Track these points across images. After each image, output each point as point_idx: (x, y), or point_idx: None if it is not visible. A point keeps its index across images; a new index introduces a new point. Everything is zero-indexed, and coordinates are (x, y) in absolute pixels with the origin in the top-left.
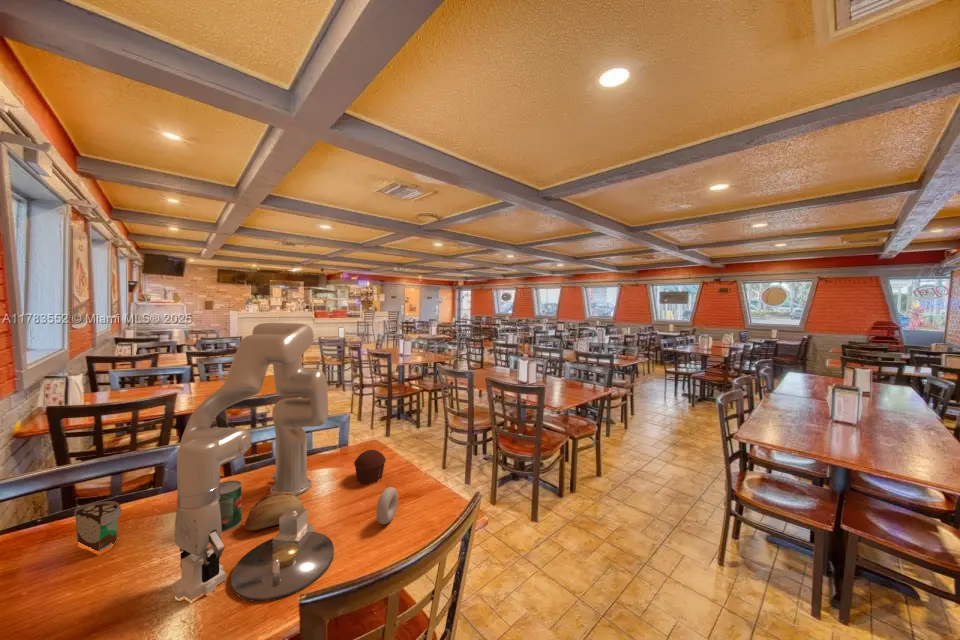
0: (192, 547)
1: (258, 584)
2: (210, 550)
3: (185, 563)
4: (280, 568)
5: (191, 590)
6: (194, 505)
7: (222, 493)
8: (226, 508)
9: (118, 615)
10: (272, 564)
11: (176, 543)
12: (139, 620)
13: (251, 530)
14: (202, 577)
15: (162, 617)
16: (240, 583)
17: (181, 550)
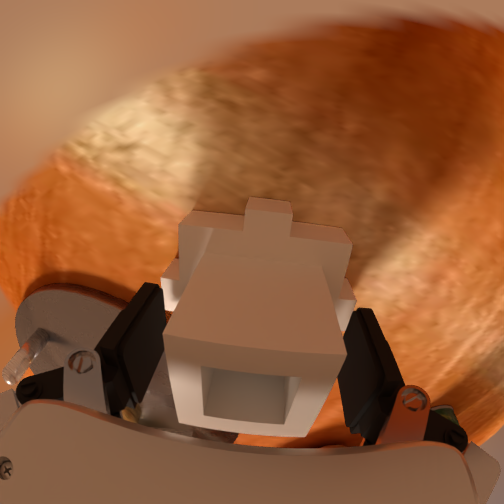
0: (60, 478)
1: (67, 328)
2: (240, 429)
3: (283, 341)
4: None
5: (204, 242)
6: None
7: None
8: None
9: (418, 79)
10: (8, 370)
11: (429, 461)
12: (308, 75)
13: (324, 447)
14: (140, 297)
15: (226, 117)
16: (106, 323)
17: (407, 394)
